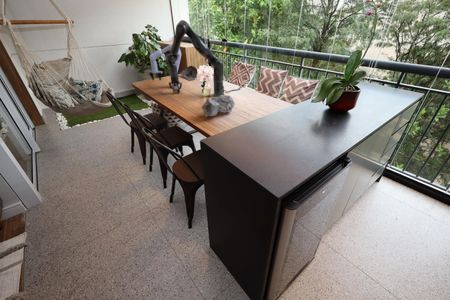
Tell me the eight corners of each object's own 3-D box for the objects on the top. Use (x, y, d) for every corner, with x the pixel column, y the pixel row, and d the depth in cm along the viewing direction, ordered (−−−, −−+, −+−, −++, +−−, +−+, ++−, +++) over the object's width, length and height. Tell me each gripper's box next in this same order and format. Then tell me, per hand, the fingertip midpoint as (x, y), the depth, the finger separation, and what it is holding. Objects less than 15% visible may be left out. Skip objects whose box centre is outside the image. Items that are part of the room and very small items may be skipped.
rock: (218, 115, 147) (243, 104, 163) (206, 95, 147) (232, 87, 164) (208, 125, 160) (232, 114, 177) (197, 107, 161) (222, 98, 177)
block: (173, 93, 209) (173, 89, 207) (175, 92, 213) (174, 88, 211) (177, 93, 209) (177, 90, 207) (179, 92, 213) (178, 88, 210)
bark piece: (202, 74, 255) (191, 66, 272) (199, 69, 248) (187, 61, 265) (192, 85, 255) (181, 76, 272) (188, 81, 249) (177, 72, 266)
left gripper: (145, 67, 207) (148, 81, 215) (159, 67, 206) (161, 81, 213) (148, 66, 213) (151, 79, 221) (162, 66, 212) (164, 79, 219)
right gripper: (166, 76, 199) (168, 93, 208) (180, 76, 197) (182, 94, 207) (168, 74, 205) (171, 91, 215) (182, 75, 204) (184, 91, 213)
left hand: (156, 80), depth 217 cm, fingers open, 7 cm apart
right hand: (176, 92), depth 211 cm, fingers closed on block, 4 cm apart
